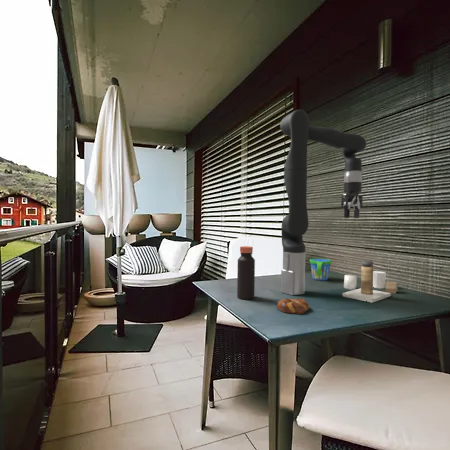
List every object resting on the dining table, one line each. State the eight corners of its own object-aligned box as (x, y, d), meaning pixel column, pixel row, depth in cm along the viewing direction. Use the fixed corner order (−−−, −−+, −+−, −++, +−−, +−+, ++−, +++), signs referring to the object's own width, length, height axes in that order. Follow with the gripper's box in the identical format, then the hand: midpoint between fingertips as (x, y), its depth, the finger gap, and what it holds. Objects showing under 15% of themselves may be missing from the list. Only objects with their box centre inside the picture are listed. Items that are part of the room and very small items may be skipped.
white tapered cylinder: (388, 289, 137) (388, 273, 137) (371, 288, 139) (372, 272, 139) (383, 285, 144) (383, 271, 144) (367, 285, 145) (368, 270, 145)
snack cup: (328, 283, 148) (328, 262, 147) (306, 281, 153) (306, 261, 152) (333, 278, 162) (333, 258, 161) (312, 276, 166) (313, 257, 166)
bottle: (255, 296, 122) (256, 246, 122) (252, 300, 116) (253, 248, 115) (239, 294, 124) (239, 245, 124) (235, 299, 118) (235, 247, 117)
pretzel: (291, 303, 114) (291, 293, 114) (316, 310, 105) (317, 300, 105) (269, 309, 106) (269, 298, 106) (294, 317, 98) (294, 305, 98)
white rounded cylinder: (358, 289, 136) (358, 277, 135) (346, 289, 136) (347, 277, 135) (353, 286, 141) (354, 274, 140) (342, 286, 141) (342, 274, 140)
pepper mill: (369, 295, 121) (370, 262, 121) (358, 293, 124) (359, 261, 124) (374, 293, 124) (375, 261, 123) (364, 291, 127) (364, 260, 127)
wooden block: (395, 293, 129) (395, 284, 129) (385, 292, 132) (385, 283, 132) (397, 291, 132) (397, 282, 132) (386, 290, 135) (387, 281, 135)
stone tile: (372, 302, 115) (372, 299, 115) (342, 296, 124) (342, 293, 124) (390, 296, 125) (390, 293, 125) (361, 290, 134) (361, 287, 134)
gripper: (352, 183, 145) (352, 217, 146) (336, 181, 136) (335, 217, 137) (368, 182, 139) (367, 218, 140) (352, 179, 130) (351, 217, 131)
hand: (351, 217), depth 138 cm, fingers open, 8 cm apart
